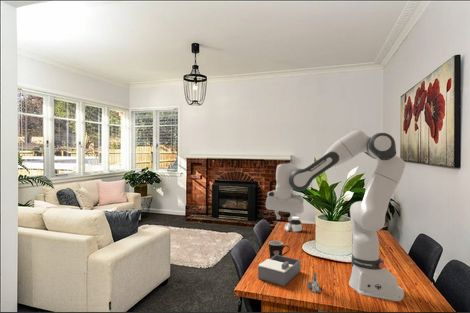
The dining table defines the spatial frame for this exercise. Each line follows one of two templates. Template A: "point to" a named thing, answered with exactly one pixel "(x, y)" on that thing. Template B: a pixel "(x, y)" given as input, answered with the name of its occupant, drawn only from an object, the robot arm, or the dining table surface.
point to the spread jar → (294, 225)
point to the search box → (278, 276)
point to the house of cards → (314, 284)
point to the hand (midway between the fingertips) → (284, 219)
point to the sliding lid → (276, 265)
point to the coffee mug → (276, 248)
